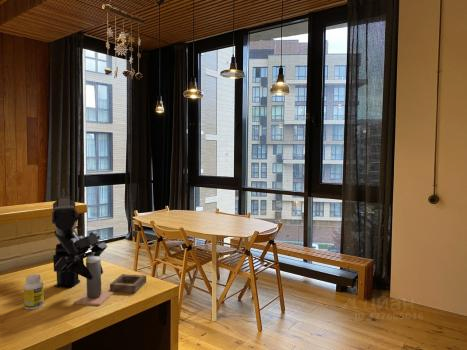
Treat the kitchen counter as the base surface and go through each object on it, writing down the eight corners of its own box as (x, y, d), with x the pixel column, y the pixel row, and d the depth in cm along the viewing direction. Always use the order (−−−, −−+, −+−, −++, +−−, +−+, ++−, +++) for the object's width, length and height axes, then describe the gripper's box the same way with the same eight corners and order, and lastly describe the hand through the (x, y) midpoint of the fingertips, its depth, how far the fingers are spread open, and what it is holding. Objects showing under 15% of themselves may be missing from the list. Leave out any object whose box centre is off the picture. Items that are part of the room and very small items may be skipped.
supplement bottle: (35, 310, 108) (33, 280, 107) (20, 309, 109) (18, 278, 108) (48, 303, 113) (46, 273, 112) (33, 301, 114) (32, 272, 113)
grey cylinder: (84, 297, 114) (83, 260, 113) (91, 291, 119) (90, 255, 118) (96, 298, 114) (95, 261, 113) (103, 292, 118) (103, 256, 117)
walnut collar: (110, 291, 122) (109, 284, 122) (122, 280, 132) (122, 274, 131) (135, 292, 121) (135, 286, 121) (146, 282, 130) (146, 275, 130)
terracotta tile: (74, 303, 113) (74, 301, 113) (89, 291, 121) (89, 290, 121) (99, 305, 111) (99, 303, 111) (113, 293, 120) (113, 291, 120)
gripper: (59, 232, 107) (89, 272, 104) (102, 219, 124) (128, 253, 121) (42, 254, 110) (70, 292, 108) (85, 238, 128) (111, 271, 125)
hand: (97, 276), depth 115 cm, fingers closed on grey cylinder, 4 cm apart
